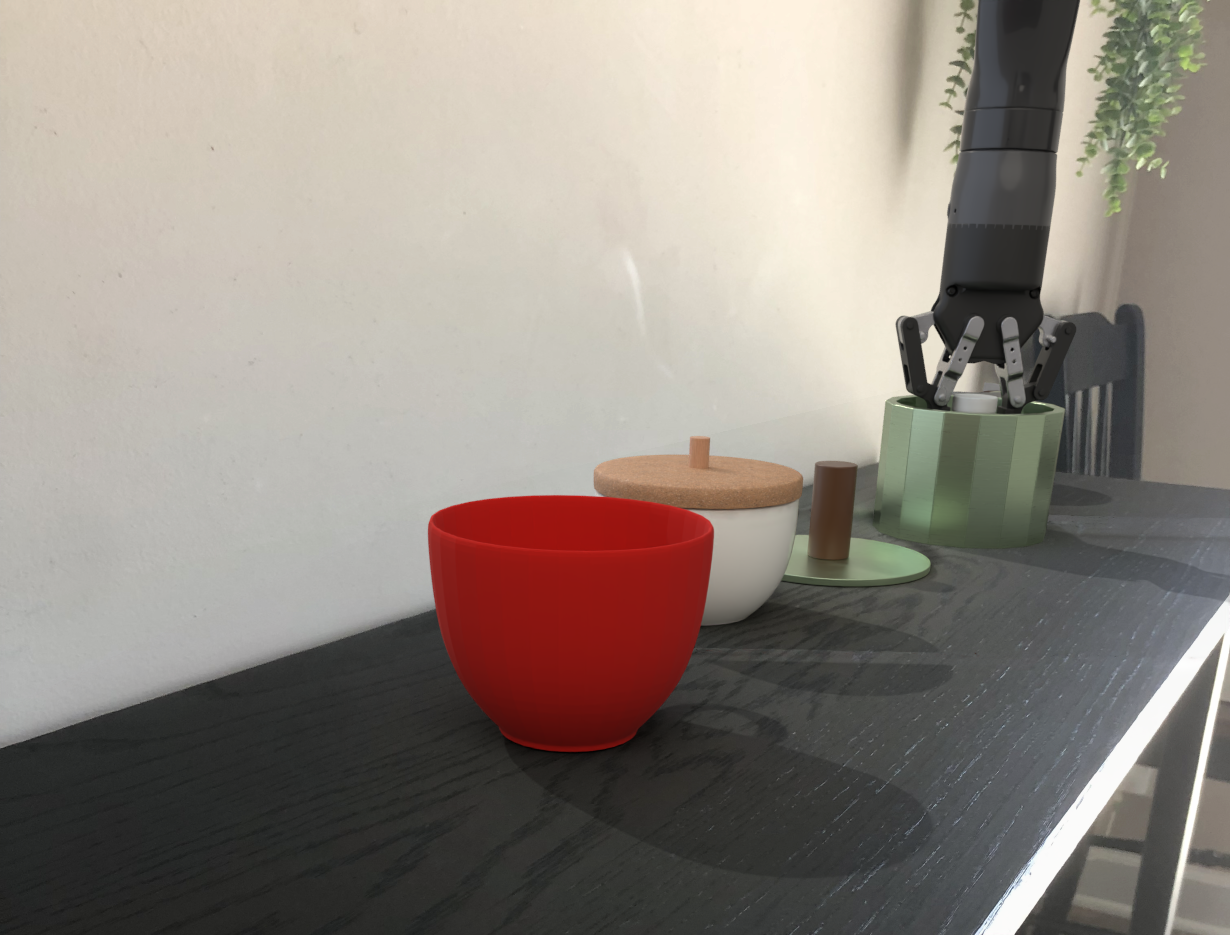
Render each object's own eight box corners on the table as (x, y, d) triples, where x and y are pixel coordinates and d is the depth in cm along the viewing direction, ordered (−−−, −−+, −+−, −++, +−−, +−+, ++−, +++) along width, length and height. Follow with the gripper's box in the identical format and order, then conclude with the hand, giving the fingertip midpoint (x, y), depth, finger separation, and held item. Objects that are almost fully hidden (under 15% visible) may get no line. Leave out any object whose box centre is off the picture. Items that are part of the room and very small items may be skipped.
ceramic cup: (736, 679, 72) (748, 492, 68) (672, 793, 57) (683, 562, 53) (509, 656, 75) (508, 475, 71) (390, 759, 60) (380, 537, 56)
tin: (1014, 522, 116) (1032, 396, 111) (1066, 557, 103) (1089, 417, 99) (858, 519, 115) (871, 392, 111) (892, 553, 103) (908, 412, 99)
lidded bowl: (799, 650, 78) (816, 456, 73) (584, 641, 78) (588, 448, 74) (783, 597, 89) (797, 426, 85) (596, 590, 90) (600, 420, 85)
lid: (903, 550, 104) (915, 450, 101) (951, 597, 90) (966, 483, 87) (717, 546, 103) (723, 446, 100) (737, 593, 90) (745, 478, 87)
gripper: (916, 216, 96) (890, 459, 103) (1111, 222, 96) (1072, 464, 103) (893, 218, 103) (870, 445, 110) (1075, 223, 103) (1041, 450, 110)
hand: (968, 453), depth 106 cm, fingers closed on pill bottle, 4 cm apart
